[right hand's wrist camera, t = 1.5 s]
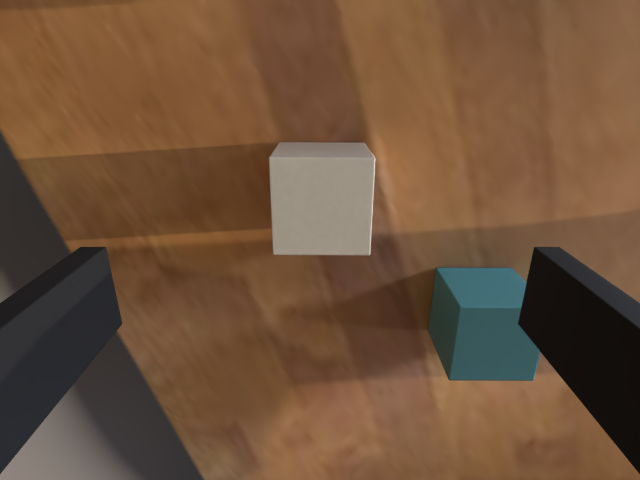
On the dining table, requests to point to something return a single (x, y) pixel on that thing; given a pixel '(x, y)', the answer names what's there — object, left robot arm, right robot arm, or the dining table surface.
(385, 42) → the dining table surface
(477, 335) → the teal block
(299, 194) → the cream block
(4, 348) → the right robot arm
